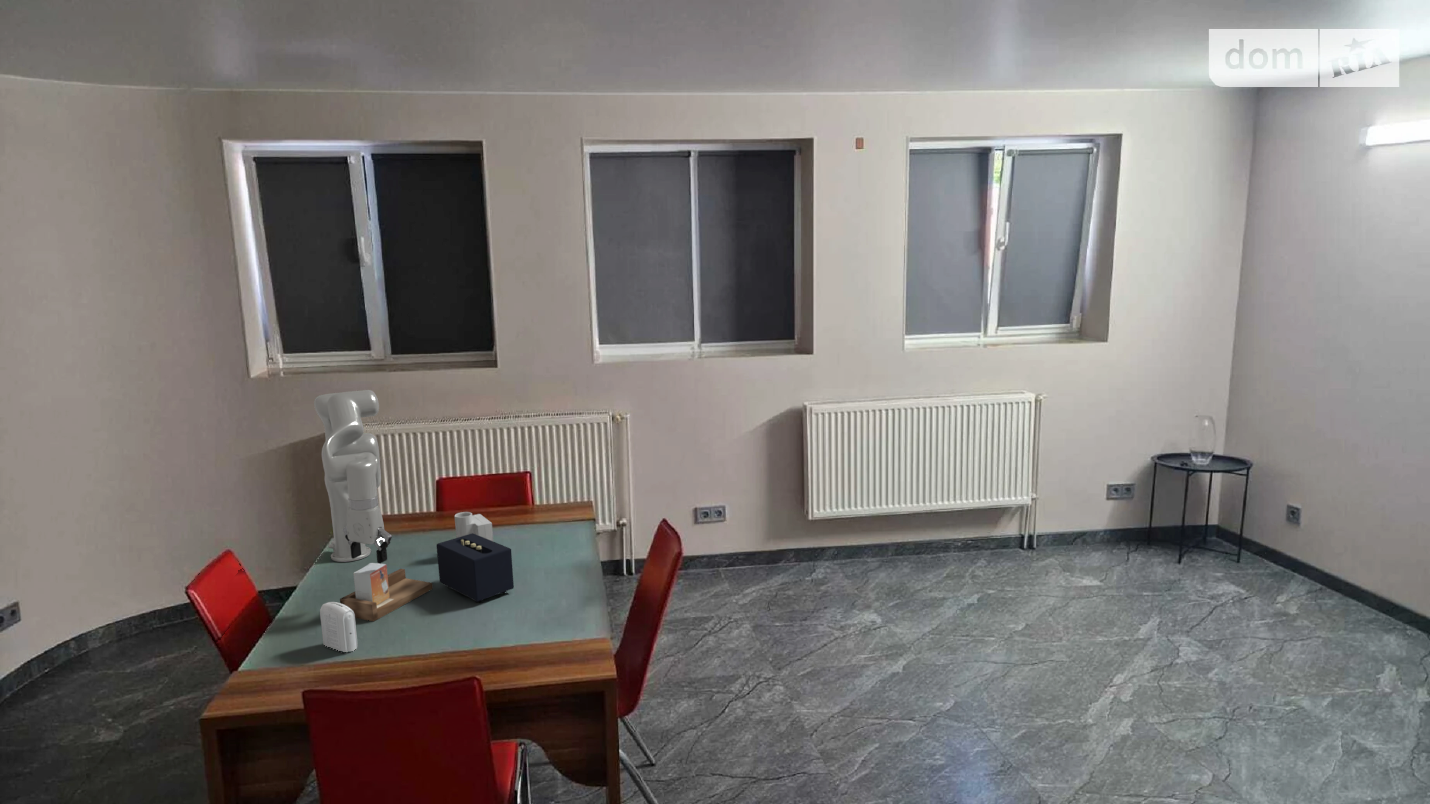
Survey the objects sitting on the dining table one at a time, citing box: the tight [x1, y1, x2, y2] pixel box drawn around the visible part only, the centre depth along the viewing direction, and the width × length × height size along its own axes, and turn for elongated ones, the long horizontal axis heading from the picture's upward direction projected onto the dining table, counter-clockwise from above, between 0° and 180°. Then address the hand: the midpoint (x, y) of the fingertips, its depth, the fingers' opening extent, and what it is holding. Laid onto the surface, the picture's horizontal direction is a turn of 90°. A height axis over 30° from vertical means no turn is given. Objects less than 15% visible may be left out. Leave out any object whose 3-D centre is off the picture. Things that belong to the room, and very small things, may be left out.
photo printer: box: [319, 601, 358, 652], centre depth 217 cm, size 10×4×12 cm, turn 61°
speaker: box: [436, 533, 515, 604], centre depth 252 cm, size 22×13×15 cm, turn 47°
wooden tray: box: [339, 568, 433, 622], centre depth 245 cm, size 12×24×5 cm, turn 157°
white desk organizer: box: [454, 511, 494, 542], centre depth 280 cm, size 12×14×15 cm
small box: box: [353, 562, 389, 605], centre depth 240 cm, size 8×6×10 cm
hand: (369, 559), depth 239 cm, fingers open, 9 cm apart
